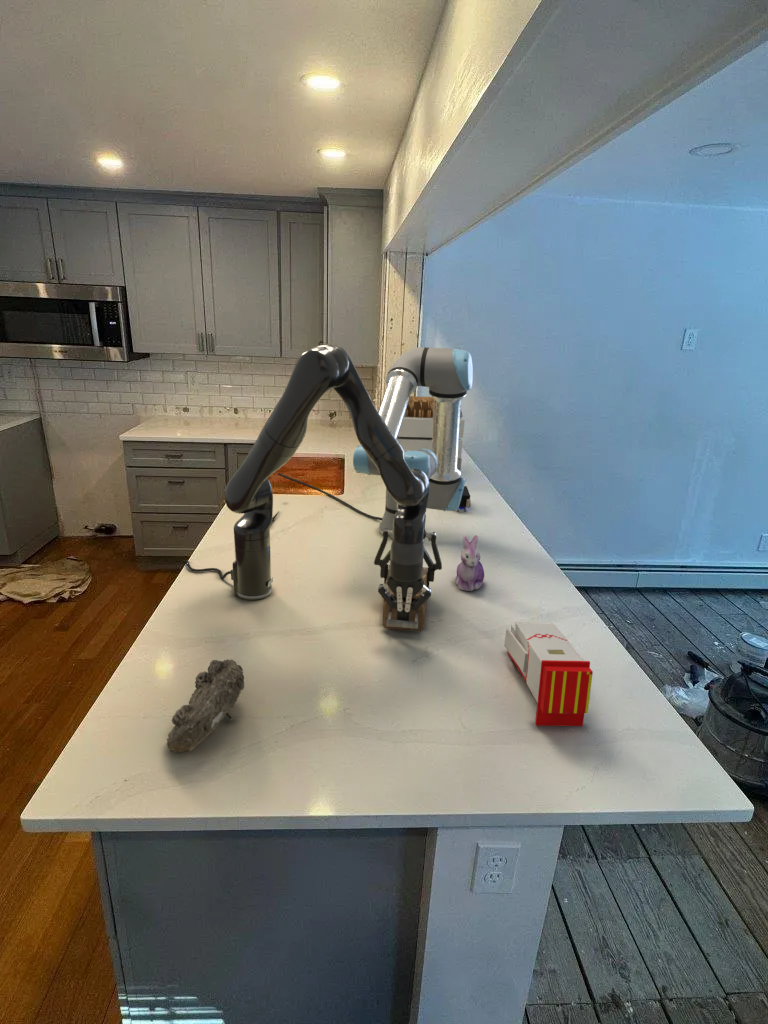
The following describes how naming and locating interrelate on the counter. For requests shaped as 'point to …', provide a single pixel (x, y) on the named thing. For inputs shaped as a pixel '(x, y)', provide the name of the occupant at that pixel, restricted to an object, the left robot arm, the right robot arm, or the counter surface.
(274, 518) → the feather
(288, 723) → the counter surface
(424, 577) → the cabinet
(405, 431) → the grey storage bin
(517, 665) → the toy
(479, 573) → the figurine
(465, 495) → the figurine character
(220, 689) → the fossil
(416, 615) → the drawer
